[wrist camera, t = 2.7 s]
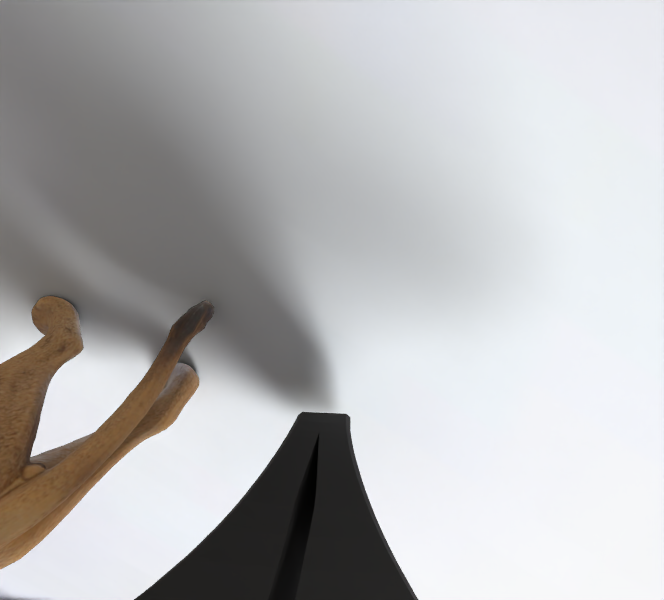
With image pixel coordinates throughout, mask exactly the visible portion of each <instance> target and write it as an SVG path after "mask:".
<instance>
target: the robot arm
mask: <svg viewBox="0 0 664 600" xmlns="http://www.w3.org/2000/svg"><path fill="white" fill-rule="evenodd" d="M134 600H418V598H417V597H416V595H415V594H414V592H413V590H412V588H411V586H410V585H409V583H408V581H407V579H406V577H405V576H404V574H403V572H402V570H401V568H400V567H399V565H398V563H397V561H396V559H395V557H394V555H393V553H392V551H391V549H390V547H389V545H388V543H387V541H386V539H385V537H384V535H383V533H382V530H381V528H380V526H379V524H378V521H377V519H376V517H375V514H374V512H373V509H372V507H371V504H370V502H369V499H368V496H367V493H366V491H365V488H364V485H363V482H362V479H361V476H360V472H359V469H358V465H357V462H356V458H355V454H354V450H353V445H352V439H351V432H350V417H349V416H348V415H347V414H336V413H313V412H302V413H300V414H299V415H298V417H297V419H296V421H295V423H294V424H293V426H292V428H291V430H290V431H289V433H288V435H287V437H286V438H285V440H284V441H283V443H282V445H281V446H280V448H279V449H278V451H277V452H276V454H275V455H274V457H273V458H272V459H271V461H270V462H269V464H268V465H267V467H266V468H265V470H264V471H263V472H262V474H261V475H260V476H259V477H258V479H257V480H256V481H255V483H254V484H253V485H252V486H251V488H250V489H249V490H248V492H247V493H246V494H245V495H244V497H243V498H242V499H241V500H240V501H239V503H238V504H237V505H236V506H235V507H234V508H233V509H232V511H231V512H230V513H229V514H228V515H227V516H226V517H225V518H224V519H223V520H222V522H221V523H220V524H219V525H218V526H217V527H216V528H215V529H214V530H213V531H212V532H211V533H210V534H209V535H208V536H207V537H206V538H205V539H204V540H203V541H202V542H201V543H200V544H199V545H198V546H197V547H196V548H195V549H194V550H193V551H191V552H190V553H189V554H188V555H187V556H186V557H185V558H184V559H183V560H181V561H180V562H179V563H178V564H177V565H176V566H174V567H173V568H172V569H171V570H170V571H169V572H167V573H166V574H165V575H164V576H163V577H162V578H160V579H159V580H158V581H157V582H156V583H155V584H153V585H152V586H151V587H150V588H149V589H147V590H146V591H145V592H144V593H142V594H141V595H140V596H138V597H137V598H136V599H134Z"/></svg>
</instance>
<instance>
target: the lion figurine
mask: <svg viewBox="0 0 664 600" xmlns="http://www.w3.org/2000/svg"><path fill="white" fill-rule="evenodd" d="M31 313H32V319H33V323H34V325H35V326H36V327H37V328H38V330H39V331H40V332H41V333H42V334H44V335H45V336H44V337H43V338H42V339H41V340H39V341H38V342H37V343H36V344H35V345H33V346H32V347H30V348H29V349H27V350H25V351H23V352H21V353H19V354H18V355H16V356H14V357H12V358H11V359H9V360H7V361H5V362H3V363H2V364H0V569H2V568H4V567H6V566H8V565H10V564H12V563H14V562H15V561H17V560H19V559H21V558H22V557H23V556H24V555H26V554H27V553H28V552H29V551H30V550H31V549H33V548H34V547H35V546H36V545H37V544H38V543H40V542H41V541H42V540H43V539H44V538H45V537H46V536H47V535H48V534H49V533H50V532H51V531H52V530H53V529H54V528H55V527H56V526H57V525H58V524H59V523H60V522H61V521H62V520H63V518H64V517H66V516H67V515H68V514H69V512H70V511H71V510H72V509H73V508H74V507H75V506H76V505H77V504H78V502H79V501H80V500H81V499H82V498H83V497H84V496H85V495H86V494H87V492H88V491H89V490H90V489H91V488H92V487H93V486H94V485H95V484H96V483H97V482H98V481H99V480H100V479H101V478H102V477H103V476H104V475H105V474H106V473H107V472H108V471H109V470H110V469H111V468H112V467H113V466H114V465H115V464H116V463H117V462H118V461H119V460H121V459H122V458H123V457H124V456H125V455H126V454H127V453H128V452H129V451H131V450H132V449H133V448H134V447H136V446H137V445H138V444H139V443H141V442H142V441H144V440H146V439H147V438H149V437H151V436H153V435H155V434H158V433H160V432H161V431H163V430H165V429H167V428H168V427H169V426H170V425H172V424H173V422H174V421H175V420H176V419H177V417H178V415H179V414H180V412H181V411H182V409H183V407H184V406H185V404H186V403H187V402H188V400H189V399H190V398H191V397H192V395H193V394H194V393H195V391H196V389H197V388H198V386H199V377H198V376H197V374H196V372H195V371H194V370H193V369H192V368H191V367H190V366H189V365H186V364H184V363H177V362H178V360H179V358H180V356H181V354H182V352H183V350H184V349H185V347H186V346H187V345H188V343H189V342H190V341H191V339H192V338H193V337H194V336H195V335H196V334H197V333H198V332H200V331H202V330H203V329H204V328H205V326H206V323H207V322H208V321H209V320H210V319H211V318H212V315H213V313H214V307H213V305H212V304H211V303H210V302H208V301H203V302H201V303H200V304H198V305H196V306H194V307H192V308H191V309H189V310H188V311H187V313H185V314H184V315H183V316H182V317H181V318H180V319H179V320H178V321H177V322H176V323H175V324H174V325H173V326H172V328H171V330H170V333H169V335H168V337H167V340H166V342H165V344H164V345H163V347H162V349H161V351H160V353H159V354H158V356H157V358H156V359H155V361H154V363H153V364H152V366H151V367H150V369H149V370H148V372H147V373H146V375H145V376H144V378H143V379H142V380H141V382H140V383H139V384H138V385H137V387H136V388H135V389H134V390H133V391H132V392H131V393H130V394H129V396H128V397H127V398H126V399H125V401H124V402H123V403H122V404H121V406H120V407H119V408H118V409H117V410H116V411H115V412H114V413H113V414H112V415H111V416H110V417H109V418H108V419H107V420H106V421H105V422H104V423H103V424H102V425H101V426H100V427H99V428H98V430H97V431H96V432H94V433H92V434H90V435H87V436H85V437H82V438H80V439H78V440H75V441H73V442H71V443H68V444H66V445H64V446H61V447H58V448H55V449H52V450H49V451H46V452H44V453H41V454H39V455H36V456H33V457H30V455H31V451H32V447H33V443H34V441H35V438H36V433H37V429H38V425H39V421H40V414H41V411H42V407H43V403H44V399H45V395H46V392H47V388H48V386H49V383H50V381H51V379H52V377H53V376H54V374H55V373H56V372H57V370H58V369H59V368H60V367H61V366H62V365H63V364H64V363H66V362H67V361H69V360H70V359H72V358H74V357H75V356H76V355H78V354H79V353H80V352H81V351H82V350H83V348H84V347H83V340H82V337H81V329H80V321H79V315H78V313H77V311H76V309H75V308H74V307H73V305H72V304H71V303H69V302H67V301H66V300H64V299H62V298H58V297H54V296H46V297H42V298H40V299H39V300H38V302H37V303H36V304H35V306H34V307H33V309H32V312H31Z"/></svg>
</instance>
